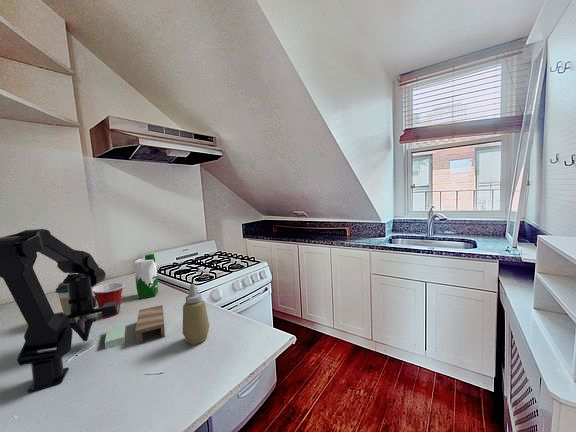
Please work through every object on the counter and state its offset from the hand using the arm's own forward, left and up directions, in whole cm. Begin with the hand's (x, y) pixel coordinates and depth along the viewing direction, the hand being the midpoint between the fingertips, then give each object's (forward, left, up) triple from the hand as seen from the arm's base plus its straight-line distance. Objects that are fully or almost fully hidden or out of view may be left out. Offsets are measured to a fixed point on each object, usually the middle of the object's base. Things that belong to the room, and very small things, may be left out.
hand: (85, 340), depth 81 cm
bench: (0, -18, -2) cm, 19 cm away
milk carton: (+40, -16, -2) cm, 43 cm away
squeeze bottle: (-17, -31, -2) cm, 36 cm away
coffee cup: (+29, +9, -2) cm, 30 cm away
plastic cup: (+24, -3, -2) cm, 24 cm away
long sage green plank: (0, -8, -2) cm, 8 cm away
